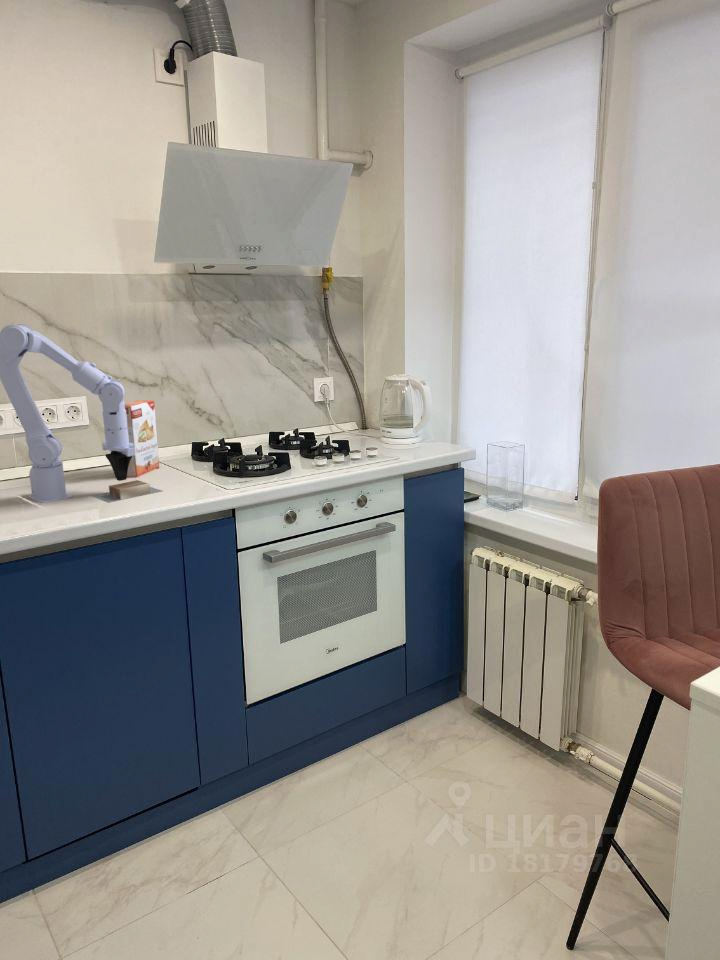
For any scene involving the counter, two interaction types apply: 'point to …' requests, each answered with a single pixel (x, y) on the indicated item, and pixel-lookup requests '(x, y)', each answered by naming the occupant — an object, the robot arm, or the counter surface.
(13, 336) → the robot arm
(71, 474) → the counter surface
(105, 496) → the mat
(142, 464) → the cracker box
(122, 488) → the slab
